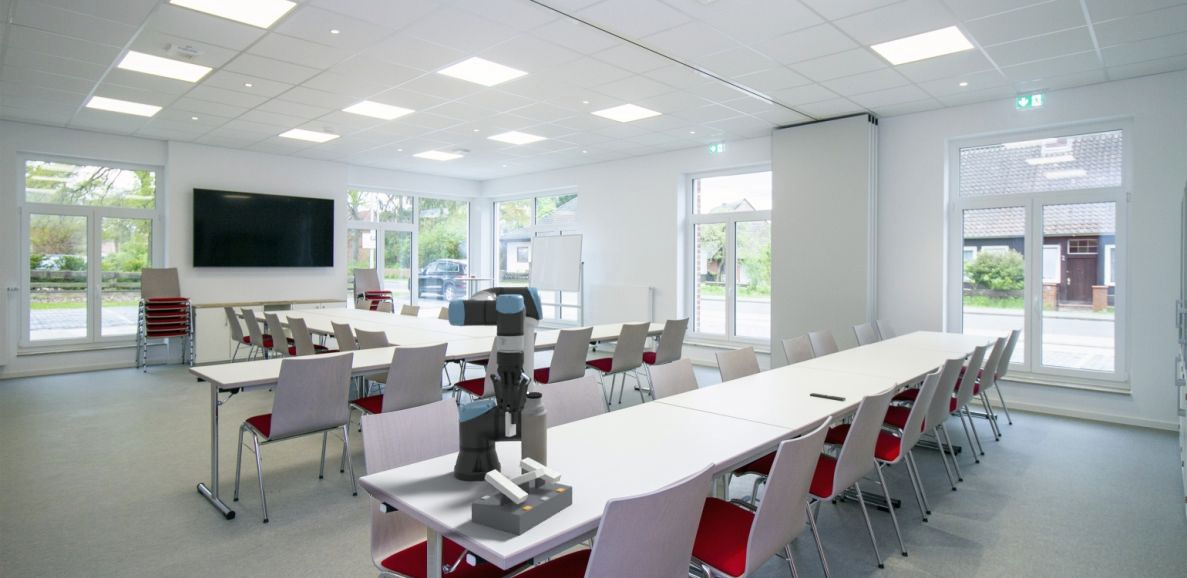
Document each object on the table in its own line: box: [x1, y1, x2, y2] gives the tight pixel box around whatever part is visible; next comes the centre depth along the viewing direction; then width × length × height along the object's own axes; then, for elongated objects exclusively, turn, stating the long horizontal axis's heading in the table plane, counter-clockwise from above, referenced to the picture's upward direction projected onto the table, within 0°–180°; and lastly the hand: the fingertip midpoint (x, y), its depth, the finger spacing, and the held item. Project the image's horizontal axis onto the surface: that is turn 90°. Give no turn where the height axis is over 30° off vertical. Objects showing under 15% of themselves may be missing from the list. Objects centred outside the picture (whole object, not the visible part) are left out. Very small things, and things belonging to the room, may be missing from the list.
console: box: [471, 477, 573, 536], centre depth 166 cm, size 16×24×8 cm, turn 149°
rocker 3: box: [518, 458, 562, 484], centre depth 172 cm, size 12×4×2 cm, turn 59°
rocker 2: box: [508, 468, 545, 485], centre depth 166 cm, size 12×4×2 cm, turn 58°
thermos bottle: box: [520, 391, 548, 475], centre depth 190 cm, size 8×8×28 cm
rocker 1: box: [484, 469, 528, 504], centre depth 159 cm, size 12×4×2 cm, turn 59°
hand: (510, 435), depth 168 cm, fingers closed
